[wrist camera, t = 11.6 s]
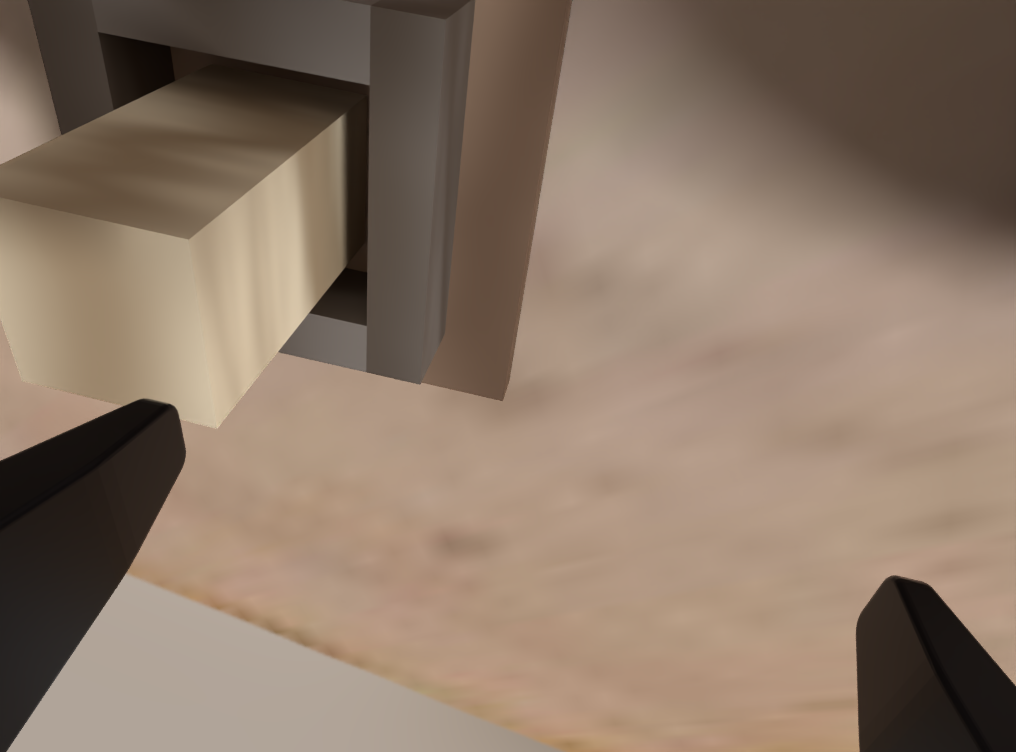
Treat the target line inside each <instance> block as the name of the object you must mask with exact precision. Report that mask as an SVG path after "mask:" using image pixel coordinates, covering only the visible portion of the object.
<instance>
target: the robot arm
mask: <svg viewBox="0 0 1016 752" xmlns="http://www.w3.org/2000/svg"><path fill="white" fill-rule="evenodd" d="M185 457H186V448H185V443H184V438H183V433H182V428H181V423H180V418H179V413H178V410H177V409H176V407H175V406H174V405H172V404H170V403H165V402H161V401H157V400H153V399H148V398H143V399H139V400H136V401H134V402H131V403H129V404H127V405H125V406H122V407H120V408H118V409H116V410H113V411H111V412H109V413H107V414H104V415H102V416H100V417H98V418H95V419H93V420H91V421H89V422H86V423H84V424H82V425H80V426H77V427H75V428H73V429H71V430H68V431H66V432H64V433H62V434H59V435H57V436H55V437H53V438H51V439H48V440H46V441H44V442H42V443H39V444H37V445H35V446H33V447H30V448H28V449H26V450H24V451H21V452H19V453H17V454H15V455H12V456H10V457H8V458H6V459H3V460H1V461H0V752H6V751H7V750H8V748H9V747H10V746H11V744H12V743H13V741H14V739H15V738H16V737H17V735H18V734H19V732H20V731H21V729H22V728H23V726H24V725H25V723H26V722H27V720H28V719H29V717H30V716H31V714H32V713H33V711H34V710H35V708H36V707H37V705H38V704H39V702H40V701H41V699H42V698H43V696H44V695H45V693H46V692H47V691H48V689H49V688H50V686H51V684H52V683H53V682H54V680H55V679H56V677H57V676H58V674H59V673H60V671H61V670H62V668H63V666H64V665H65V664H66V662H67V661H68V659H69V658H70V656H71V655H72V653H73V652H74V650H75V649H76V647H77V646H78V644H79V643H80V641H81V640H82V638H83V637H84V635H85V634H86V633H87V631H88V630H89V628H90V627H91V625H92V623H93V622H94V621H95V619H96V618H97V616H98V615H99V613H100V612H101V610H102V609H103V607H104V606H105V604H106V603H107V601H108V600H109V598H110V597H111V595H112V594H113V592H114V591H115V589H116V588H117V586H118V585H119V583H120V582H121V580H122V579H123V577H124V576H125V574H126V572H127V571H128V569H129V568H130V566H131V564H132V562H133V560H134V559H135V557H136V555H137V553H138V552H139V550H140V548H141V546H142V544H143V542H144V540H145V538H146V536H147V534H148V533H149V531H150V529H151V527H152V525H153V523H154V521H155V519H156V517H157V515H158V514H159V512H160V510H161V508H162V506H163V504H164V502H165V500H166V498H167V496H168V494H169V493H170V491H171V489H172V487H173V485H174V483H175V481H176V479H177V477H178V475H179V474H180V472H181V470H182V467H183V465H184V462H185ZM856 654H857V690H858V725H859V748H860V752H1016V686H1015V685H1014V683H1013V682H1012V681H1011V680H1010V679H1009V678H1008V676H1007V675H1006V674H1005V673H1004V672H1003V670H1002V669H1001V668H1000V667H999V666H998V665H997V663H996V662H995V661H994V660H993V659H992V657H991V656H990V655H989V654H988V653H987V652H986V650H985V649H984V648H983V647H982V646H981V645H980V643H979V642H978V641H977V640H976V639H975V637H974V636H973V635H972V634H971V633H970V632H969V630H968V629H967V628H966V627H965V626H964V624H963V623H962V622H961V621H960V620H959V619H958V617H957V616H956V615H955V614H954V613H953V612H952V610H951V609H950V608H949V607H948V606H947V604H946V603H945V602H944V601H943V600H942V599H941V597H940V596H939V595H938V594H937V593H936V591H935V590H934V589H933V588H932V587H931V586H929V585H928V584H926V583H924V582H922V581H918V580H913V579H909V578H905V577H901V576H890V577H888V578H886V579H885V580H884V582H883V583H882V584H881V586H880V587H879V588H878V590H877V591H876V593H875V594H874V595H873V597H872V598H871V599H870V601H869V602H868V604H867V605H866V606H865V608H864V609H863V611H862V612H861V614H860V616H859V618H858V622H857V627H856Z"/></svg>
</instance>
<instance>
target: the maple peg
mask: <svg viewBox="0 0 1016 752" xmlns="http://www.w3.org/2000/svg"><path fill="white" fill-rule="evenodd" d="M366 122H367V95H362V94H357V93H352V92H348V91H343V90H338V89H333V88H328V87H323V86H318V85H313V84H308V83H304V82H299V81H294V80H289V79H284V78H279V77H274V76H269V75H264V74H259V73H255V72H250V71H245V70H240V69H235V68H230V67H225V66H220V65H215V64H210V65H208V66H205V67H203V68H201V69H199V70H197V71H195V72H193V73H191V74H189V75H187V76H185V77H183V78H180V79H178V80H176V81H174V82H172V83H170V84H168V85H166V86H164V87H162V88H160V89H157V90H155V91H153V92H151V93H149V94H147V95H145V96H143V97H141V98H139V99H137V100H135V101H132V102H130V103H128V104H126V105H124V106H122V107H120V108H118V109H116V110H114V111H112V112H109V113H107V114H105V115H103V116H101V117H99V118H97V119H95V120H93V121H91V122H89V123H87V124H84V125H82V126H80V127H78V128H76V129H74V130H72V131H70V132H68V133H66V134H64V135H61V136H59V137H57V138H55V139H53V140H51V141H49V142H47V143H45V144H43V145H41V146H39V147H36V148H34V149H32V150H30V151H28V152H26V153H24V154H22V155H20V156H18V157H16V158H13V159H11V160H9V161H7V162H5V163H3V164H1V165H0V320H1V323H2V325H3V328H4V331H5V334H6V337H7V340H8V343H9V345H10V348H11V351H12V354H13V357H14V360H15V362H16V365H17V368H18V371H19V374H20V377H21V379H22V381H23V382H27V383H32V384H36V385H40V386H44V387H48V388H52V389H56V390H60V391H64V392H68V393H73V394H77V395H81V396H85V397H89V398H93V399H97V400H101V401H105V402H110V403H114V404H118V405H122V406H125V405H127V404H129V403H131V402H134V401H136V400H139V399H143V398H148V399H153V400H157V401H161V402H165V403H170V404H172V405H174V406H175V407H176V409H177V410H178V413H179V418H180V420H183V421H188V422H192V423H196V424H200V425H204V426H208V427H212V428H216V429H217V428H218V427H219V426H220V424H221V423H222V422H223V421H224V419H225V418H226V417H227V416H228V414H229V413H230V412H231V410H232V409H233V408H234V407H235V405H236V404H237V403H238V402H239V400H240V399H241V398H242V397H243V395H244V394H245V393H246V392H247V390H248V389H249V388H250V387H251V385H252V384H253V383H254V382H255V380H256V379H257V378H258V376H259V375H260V374H261V373H262V371H263V370H264V369H265V368H266V366H267V365H268V364H269V363H270V361H271V360H272V359H273V358H274V356H275V355H276V354H277V353H278V351H279V350H280V349H281V348H282V346H283V345H284V344H285V342H286V341H287V340H288V339H289V337H290V336H291V335H292V334H293V332H294V331H295V330H296V329H297V327H298V326H299V325H300V324H301V322H302V321H303V320H304V319H305V317H306V316H307V315H308V313H309V312H310V311H311V310H312V308H313V307H314V306H315V305H316V303H317V302H318V301H319V300H320V298H321V297H322V296H323V295H324V293H325V292H326V291H327V290H328V288H329V287H330V286H331V285H332V283H333V282H334V281H335V279H336V278H337V277H338V276H339V274H340V273H341V272H342V271H343V269H344V268H345V267H346V266H347V264H348V263H349V262H350V261H351V259H352V258H353V257H354V256H355V254H356V253H357V252H358V251H359V249H360V248H361V247H362V245H363V244H364V243H365V189H366Z"/></svg>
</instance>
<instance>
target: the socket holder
mask: <svg viewBox="0 0 1016 752" xmlns="http://www.w3.org/2000/svg"><path fill="white" fill-rule="evenodd" d="M28 2H29V6H30V10H31V14H32V18H33V22H34V26H35V31H36V35H37V39H38V43H39V47H40V51H41V55H42V59H43V63H44V67H45V71H46V75H47V79H48V83H49V87H50V91H51V95H52V99H53V103H54V107H55V111H56V115H57V119H58V123H59V127H60V131H61V135H64V134H66V133H68V132H70V131H72V130H74V129H76V128H78V127H80V126H82V125H84V124H87V123H89V122H91V121H93V120H95V119H97V118H99V117H101V116H103V115H105V114H107V113H109V112H112V111H114V110H116V109H118V108H120V107H122V106H124V105H126V104H128V103H130V102H132V101H135V100H137V99H139V98H141V97H143V96H145V95H147V94H149V93H151V92H153V91H155V90H157V89H160V88H162V87H164V86H166V85H168V84H170V83H172V82H174V81H176V80H178V79H180V78H183V77H185V76H187V75H189V74H191V73H193V72H195V71H197V70H199V69H201V68H203V67H205V66H208V65H210V64H215V65H220V66H225V67H230V68H235V69H240V70H245V71H250V72H255V73H259V74H264V75H269V76H274V77H279V78H284V79H289V80H294V81H299V82H304V83H308V84H313V85H318V86H323V87H328V88H333V89H338V90H343V91H348V92H352V93H357V94H362V95H367V122H366V189H365V243H364V244H363V245H362V247H361V248H360V249H359V251H358V252H357V253H356V254H355V256H354V257H353V258H352V259H351V261H350V262H349V263H348V264H347V266H346V267H345V268H344V269H343V271H342V272H341V273H340V274H339V276H338V277H337V278H336V279H335V281H334V282H333V283H332V285H331V286H330V287H329V288H328V290H327V291H326V292H325V293H324V295H323V296H322V297H321V298H320V300H319V301H318V302H317V303H316V305H315V306H314V307H313V308H312V310H311V311H310V312H309V313H308V315H307V316H306V317H305V319H304V320H303V321H302V322H301V324H300V325H299V326H298V327H297V329H296V330H295V331H294V332H293V334H292V335H291V336H290V337H289V339H288V340H287V341H286V342H285V344H284V345H283V346H282V348H281V349H280V350H279V351H278V352H280V353H284V354H289V355H293V356H298V357H302V358H306V359H311V360H315V361H319V362H324V363H328V364H333V365H337V366H341V367H346V368H350V369H354V370H359V371H363V372H368V373H372V374H376V375H381V376H385V377H389V378H394V379H398V380H402V381H407V382H411V383H416V384H421V382H422V383H426V384H430V385H435V386H439V387H444V388H448V389H452V390H457V391H461V392H465V393H470V394H474V395H479V396H483V397H487V398H492V399H496V400H500V401H503V399H504V396H505V392H506V389H507V386H508V383H509V379H510V373H511V367H512V361H513V355H514V348H515V342H516V336H517V330H518V324H519V318H520V312H521V306H522V300H523V294H524V288H525V282H526V276H527V270H528V264H529V258H530V252H531V246H532V240H533V234H534V228H535V222H536V216H537V209H538V203H539V197H540V191H541V185H542V179H543V173H544V167H545V161H546V155H547V149H548V143H549V137H550V131H551V125H552V119H553V113H554V107H555V101H556V95H557V89H558V83H559V76H560V70H561V64H562V58H563V52H564V46H565V40H566V34H567V28H568V22H569V16H570V10H571V4H572V0H28Z"/></svg>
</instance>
